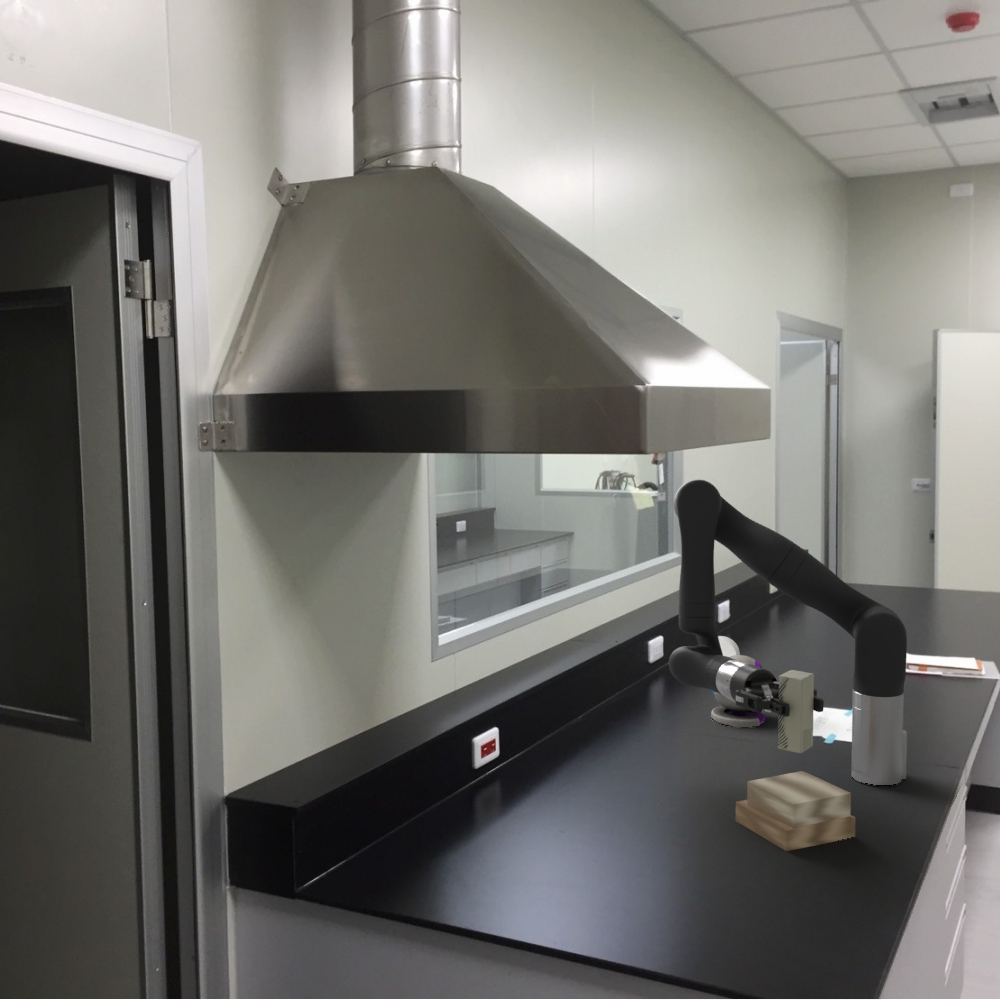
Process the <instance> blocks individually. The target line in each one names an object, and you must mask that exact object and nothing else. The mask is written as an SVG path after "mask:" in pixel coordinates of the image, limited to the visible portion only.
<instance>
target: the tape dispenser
mask: <svg viewBox="0 0 1000 1000" xmlns="http://www.w3.org/2000/svg"><path fill="white" fill-rule="evenodd" d="M718 639H719V643H720V646H721V650H722V653H723V656H727V657H730V656H734V655H741V652H740V648H739V646H738V644H737V643H736V642H735V641H734V640H733V639H731V638H730V637H727V636H725V635H718Z"/></svg>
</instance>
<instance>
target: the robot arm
mask: <svg viewBox="0 0 1000 1000" xmlns="http://www.w3.org/2000/svg"><path fill="white" fill-rule="evenodd" d="M673 509H674V513H675V515H676V516H677V519H678V520H677V521H678V525H679V526H678V527H679V532H680V543H681V558H680V559H681V562H680V564H681V565H680V574H679V587H678V589H679V590H678V628H679V630H680V631H682V632H683V633H685V634H690V635H693V636H695V637H696V641H697V643H698V645H685V646H684V645H682V646H680V647H677V648H675V649H674V650H673V651H672V653H671V654H670V656H669V658H668V667H669V672H670V673H671V675H672V677H673V678H674V679H676V680H677V681H678V682H679V683H682V684H685V685H688V686H690V687H692V686H693V687H695V688H703V689H707V690H711V691H712V690H713V691H715V692H717V693H719V694H721V695H724V696H725V697H727V698H728V699H730V700H732V701H734V702H736V705H738V706H741V707H743V708H746V709H749V710H752V711H754V712H757V713H760V712H761V713H763V712H762V711H765V712H767V713H774V714H777V715H778V714H779V715H781V716H784V717H788V716H789V715H790V706H789V704H788V703H786V702H783V701H781V700H778V699H779V680H777V679H776V677H775V675H774V673H773V672H771V671H770V670H768V669H766V668H763V667H762V668H760V667H757V666H755V665H752V664H750V663H747V662H743V661H738V660H735V659H732V658H730V657H727V656H723V653H722V650H721V646H720V643H719V639H718V636H719V635H718V632H717V627H716V587H715V586H716V585H715V563H714V562H715V559H714V558H715V541H716V542H718V543H719V544H721V545H722V546H724V547H725V548H726V549H728V550H729V551H730V552H731V553H732V554H733V555H735V557H737V558H738V560H740V561H741V562H742V563H743V564H744V565H746V566H747V567H748V568H749V569H750V570H751V571H753V572H754V573H755V574H757V575H758V576H759V577H761V578H762V579H763V580H764V581H766V582H767V583H768V584H769V585H771V586H772V587H774V588H775V589H777V590H778V591H780V592H781V593H783V594H784V595H786V596H788V597H789V598H791V599H793V600H795V601H797V602H799V603H801V604H803V605H806V606H807V607H810V608H813V609H814V610H817V611H818V612H820V613H822V614H824V615H825V616H826V617H829V619H831V620H832V621H833V622H835V623H836V624H838V625H837V626H840V627H841V628H842V629H843V630H844V631H846V633H848V634H849V635H850V636H851V637H852V638H853V639H854V668H853V676H852V711H851V712H852V713H851V715H852V716H851V717H852V718H851V719H852V720H851V721H852V723H851V725H852V726H851V770H850V771H851V778H852V777H853V778H854V780H855V781H857V782H859V783H861V782H862V784H865V783H868V784H867V785H870V784H873V785H872V786H876V785H892V786H894V785H893V784H896V785H899V784H900V783H899V782H901V783H902V781H903V780H902V779H906V780H907V756H908V755H907V754H908V753H907V748H908V747H907V745H908V731H906V730H905V729H904V696H905V695H904V693H905V690H904V689H905V682H906V676H907V675H906V674H907V653H908V652H907V651H908V649H907V648H908V636H907V635H908V634H907V630H906V627H905V624H904V623H903V621H902V620H901V618H900V617H899V616H898V614H897V613H896V612H894V611H893V609H891V608H889V607H887V606H886V605H884V604H882V603H880V602H878V601H876V600H874V599H872V598H870V597H868V596H866V595H865V594H863V593H861V592H860V591H858V590H856V589H855V588H853V587H852V586H850V585H849V584H847V583H846V582H844V581H843V580H842V579H841V578H840V577H839V576H837V575H836V574H835V573H834V572H833V570H831V569H830V568H828V567H827V566H826V565H824V563H822V562H821V561H820V560H818V559H817V558H816V557H815V556H813V554H811V553H809V552H808V551H807V550H805V549H804V548H802V547H801V546H800V545H798V544H796V543H794V542H793V540H791V539H789V538H788V537H785V535H783V534H780V533H778V532H777V531H775V530H773V529H771V528H770V527H767V526H766V525H763V524H761V523H759V522H756V521H755V520H753V519H751V518H749V517H748V516H747V515H745V514H743V513H742V512H741V511H739V510H738V509H737V508H735V506H733V505H732V504H730V503H729V501H727V500H726V499H725V498H724V497H722V495H721V493H720V491H719V490H718V488H717V487H716V486H715V485H714V484H712V483H711V482H709V481H707V480H704V479H699V478H698V479H692V480H688V481H686V482H684V483H683V484H682V485H681V486H680V487H679V488H678V489H677V490H676V493H675V495H674V499H673ZM824 702H825V701H824V699H823V698H821V697H818V690H817V689H815V688H814V703H813V712H814V711H815V712H817V713H823V712H824V708H825V707H824V704H825V703H824ZM853 778H852V779H853ZM901 780H902V781H901ZM898 783H899V784H898Z"/></svg>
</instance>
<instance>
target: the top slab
mask: <svg viewBox="0 0 1000 1000" xmlns="http://www.w3.org/2000/svg"><path fill="white" fill-rule="evenodd" d="M746 782H747V786H746V787H747V791H746V792H747V793H746V795H747V797H746V800H747V804H749V805H750V806H752V807H754V808H756V809H758V810H760V811H762V812H763V813H765V814H767V815H769V816H771V817H773V818H775V819H776V820H778V821H780V822H782V823H784V824H786V825H788V826H790V827H791V828H798V827H803V826H807V825H812V824H817V823H821V822H826V821H831V820H835V819H840V818H845V817H849V816H850V815H851V810H852V809H851V807H852V806H851V804H852V799H851V798H852V794H851V792H849V791H848V790H845V789H843V788H840V787H838V786H837V785H834V784H832V783H830V782H827V781H825V780H823V779H821V778H820V777H817V776H814V775H812V774H810V773H808V772H806V771H803V770H800V771H796V772H790V773H784V774H779V775H774V776H769V777H763V778H762V777H761V778H757V779H753V780H747V781H746Z"/></svg>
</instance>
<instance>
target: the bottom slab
mask: <svg viewBox="0 0 1000 1000" xmlns="http://www.w3.org/2000/svg"><path fill="white" fill-rule="evenodd" d="M856 819H857V818H856V816H854V815H852V814H850V816H849V817H845V818H840V819H835V820H831V821H826V822H821V823H817V824H812V825H807V826H803V827H798V828H791V827H790V826H788V825H786V824H784V823H782V822H780V821H778V820H776V819H775V818H773V817H771V816H769V815H767V814H765V813H763V812H762V811H760V810H758V809H756V808H754V807H752V806H750V805H749V804H747V799H744V800H738V801H735V822H737V824H740V825H741V826H743V827H745V828H747V829H748V830H750V831H752V832H753V833H755V834H757V835H758V836H760V837H762V838H764V839H765V840H767V841H768V842H770V843H771V844H773V845H775V846H777V847H778V848H780V849H782V850H784V851H785V852H789V851H795V850H800V849H806V848H809V847H814V846H819V845H824V844H828V843H833V842H838V840H839V841H843V840H842V839H844V840H848V839H847V838H849V839H852V838H851V837H854V838H856Z"/></svg>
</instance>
